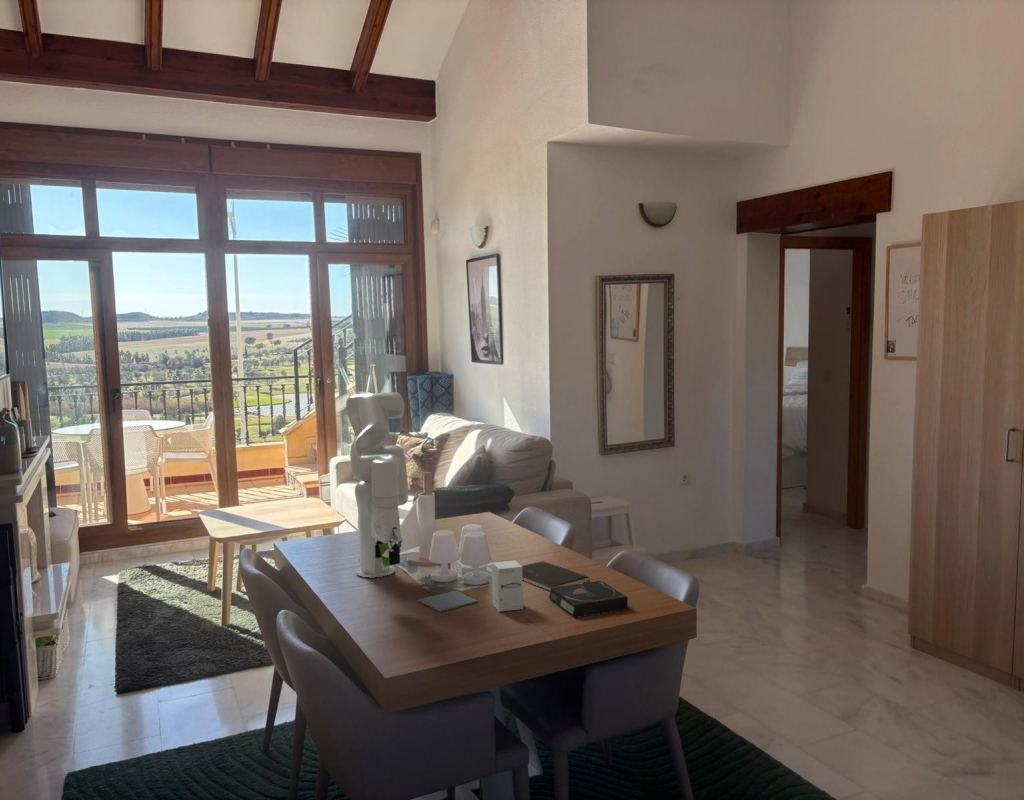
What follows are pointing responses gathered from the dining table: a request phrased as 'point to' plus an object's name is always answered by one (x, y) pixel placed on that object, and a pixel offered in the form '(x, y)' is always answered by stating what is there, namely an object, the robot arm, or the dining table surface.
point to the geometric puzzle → (384, 553)
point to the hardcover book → (551, 575)
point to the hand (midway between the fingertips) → (387, 560)
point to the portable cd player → (588, 598)
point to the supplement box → (507, 585)
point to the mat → (447, 601)
